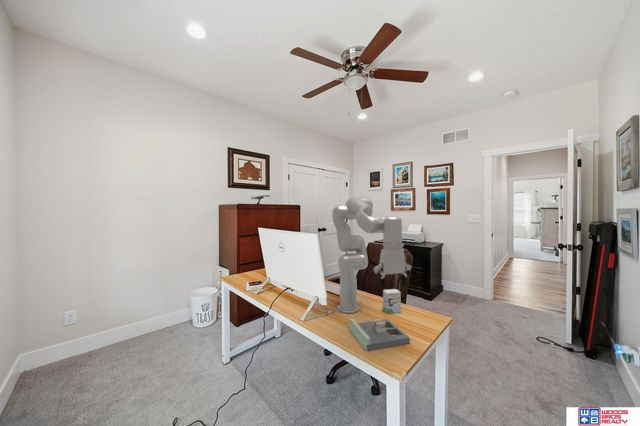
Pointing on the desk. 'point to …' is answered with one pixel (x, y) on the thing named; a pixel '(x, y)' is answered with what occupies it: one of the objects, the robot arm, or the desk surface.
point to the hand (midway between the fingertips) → (392, 286)
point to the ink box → (391, 301)
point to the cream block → (379, 326)
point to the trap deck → (377, 335)
